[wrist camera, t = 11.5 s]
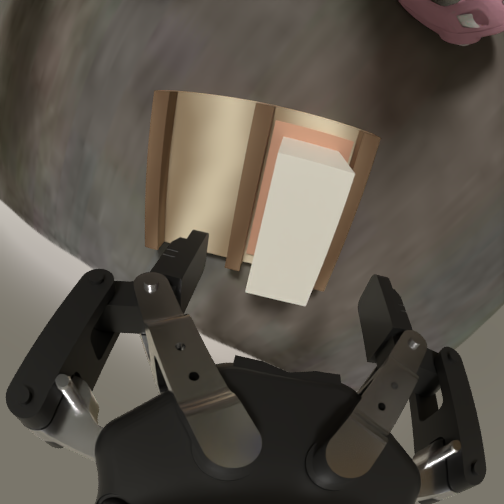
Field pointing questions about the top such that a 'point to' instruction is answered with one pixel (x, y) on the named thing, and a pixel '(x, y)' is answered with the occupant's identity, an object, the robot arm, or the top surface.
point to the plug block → (299, 220)
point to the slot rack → (235, 170)
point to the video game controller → (459, 18)
